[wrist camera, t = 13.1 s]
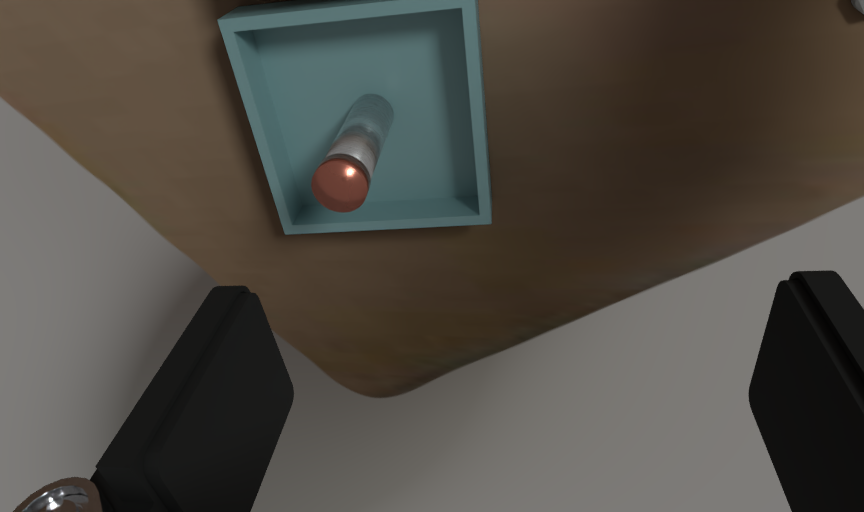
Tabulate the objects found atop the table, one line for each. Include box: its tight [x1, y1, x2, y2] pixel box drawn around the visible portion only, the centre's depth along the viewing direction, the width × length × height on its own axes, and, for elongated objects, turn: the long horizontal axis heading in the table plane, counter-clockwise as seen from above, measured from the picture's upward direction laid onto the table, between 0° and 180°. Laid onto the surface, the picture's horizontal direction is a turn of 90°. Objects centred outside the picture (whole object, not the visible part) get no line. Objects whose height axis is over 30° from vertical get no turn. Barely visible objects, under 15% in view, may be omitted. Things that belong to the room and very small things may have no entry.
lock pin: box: [311, 94, 394, 213], centre depth 38 cm, size 3×3×11 cm
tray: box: [217, 0, 492, 235], centre depth 41 cm, size 16×16×4 cm
